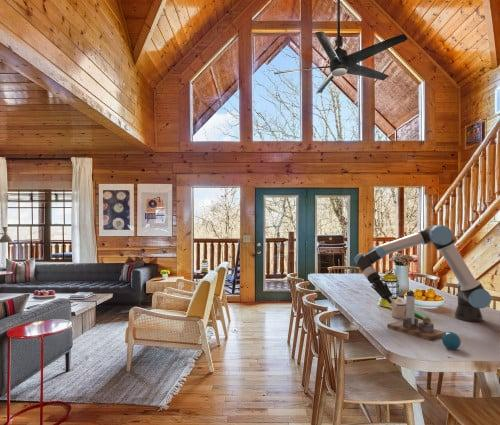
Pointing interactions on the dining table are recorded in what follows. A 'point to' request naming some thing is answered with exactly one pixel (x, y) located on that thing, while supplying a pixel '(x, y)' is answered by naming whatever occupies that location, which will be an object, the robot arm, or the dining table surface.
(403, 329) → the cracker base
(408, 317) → the lever
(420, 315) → the green onion
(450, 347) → the ball
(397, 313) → the teacup with lid
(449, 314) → the dining table surface
